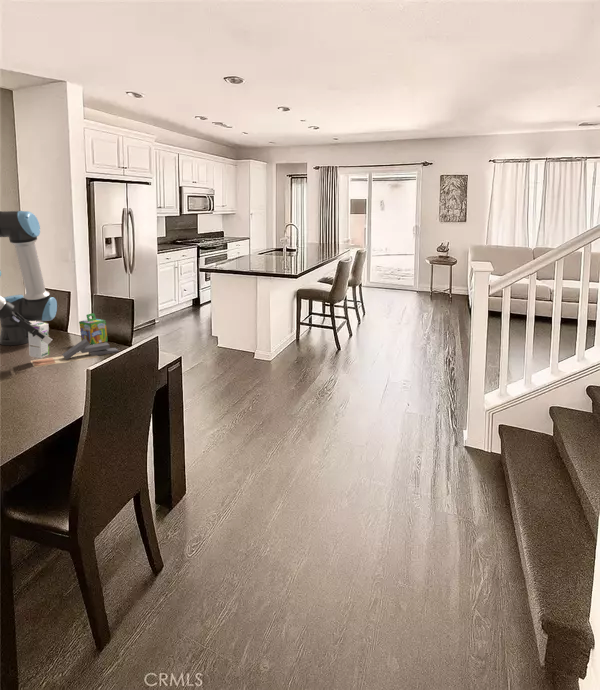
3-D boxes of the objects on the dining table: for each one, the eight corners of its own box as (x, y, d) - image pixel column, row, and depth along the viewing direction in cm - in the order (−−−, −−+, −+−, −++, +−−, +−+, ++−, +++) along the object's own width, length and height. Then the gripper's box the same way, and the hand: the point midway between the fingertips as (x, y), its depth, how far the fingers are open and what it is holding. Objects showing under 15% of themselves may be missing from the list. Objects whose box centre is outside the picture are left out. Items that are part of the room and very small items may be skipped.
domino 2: (79, 346, 237) (106, 342, 243) (80, 350, 238) (107, 346, 244) (81, 349, 233) (109, 344, 239) (82, 353, 234) (109, 348, 240)
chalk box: (93, 346, 256) (89, 316, 252) (81, 344, 260) (77, 314, 256) (108, 342, 263) (105, 313, 259) (96, 340, 268) (93, 311, 264)
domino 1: (62, 354, 234) (85, 338, 237) (64, 357, 235) (87, 341, 238) (63, 357, 230) (87, 340, 233) (66, 360, 230) (90, 343, 234)
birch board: (30, 362, 231) (30, 360, 231) (92, 353, 244) (92, 350, 244) (34, 369, 221) (34, 367, 221) (98, 359, 235) (98, 356, 234)
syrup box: (40, 358, 224) (40, 326, 220) (28, 356, 225) (27, 323, 220) (49, 355, 229) (49, 323, 225) (37, 352, 230) (36, 320, 226)
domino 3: (88, 349, 240) (115, 347, 246) (88, 353, 240) (115, 351, 247) (90, 351, 236) (118, 350, 242) (90, 355, 236) (118, 354, 242)
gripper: (-8, 310, 222) (39, 341, 234) (-5, 318, 205) (46, 352, 218) (4, 296, 223) (50, 328, 236) (9, 304, 206) (58, 337, 219)
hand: (48, 339), depth 227 cm, fingers closed on syrup box, 8 cm apart
